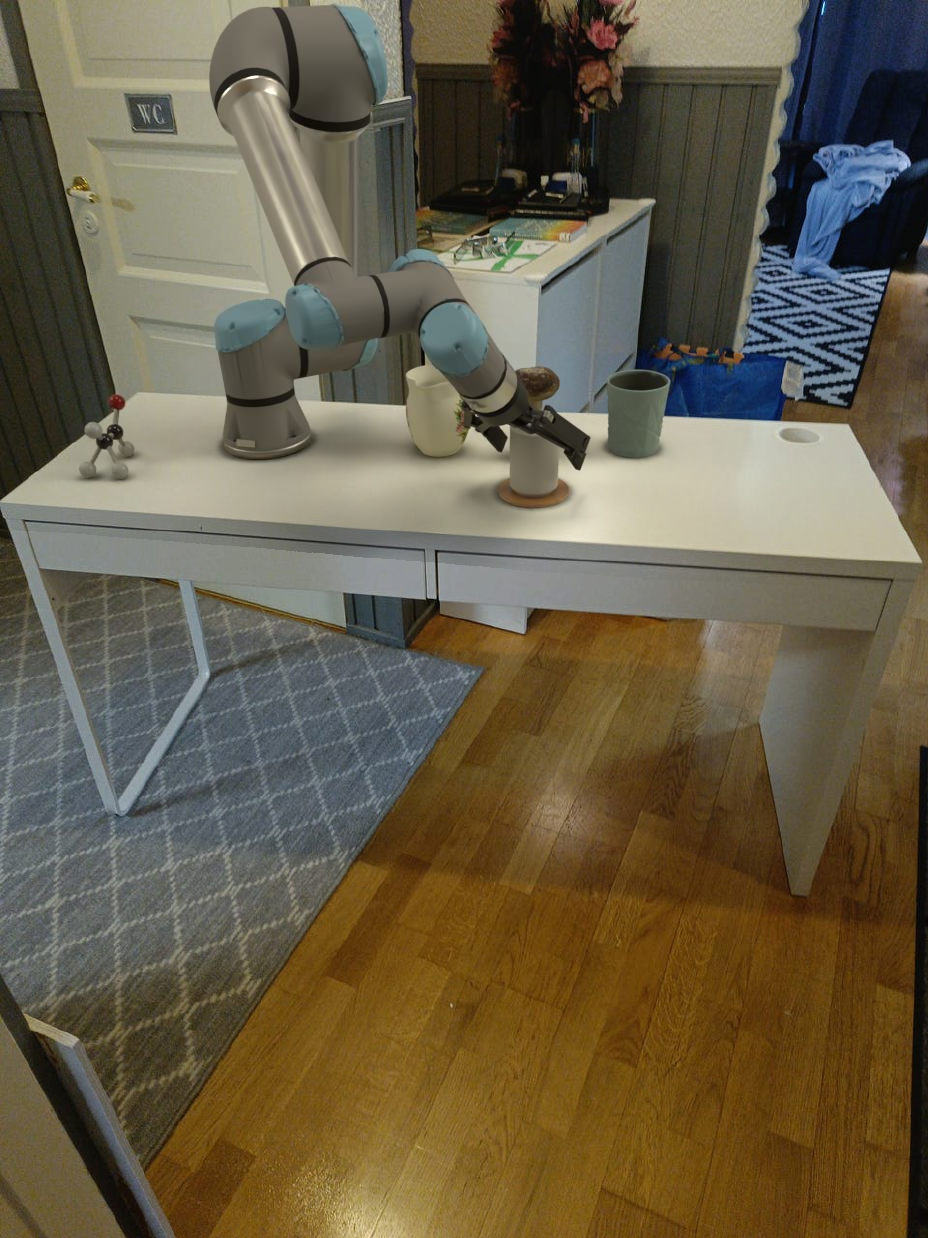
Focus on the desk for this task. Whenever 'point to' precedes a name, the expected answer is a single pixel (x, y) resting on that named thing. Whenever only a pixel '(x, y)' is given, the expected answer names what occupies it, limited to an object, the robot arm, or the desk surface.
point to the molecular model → (108, 442)
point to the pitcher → (434, 412)
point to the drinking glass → (636, 411)
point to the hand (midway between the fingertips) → (541, 453)
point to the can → (532, 463)
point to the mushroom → (538, 384)
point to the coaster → (533, 502)
